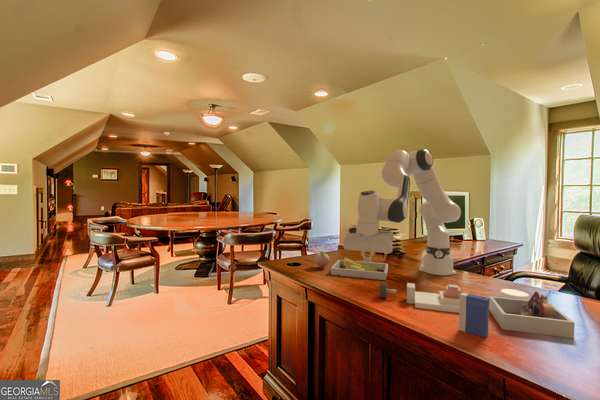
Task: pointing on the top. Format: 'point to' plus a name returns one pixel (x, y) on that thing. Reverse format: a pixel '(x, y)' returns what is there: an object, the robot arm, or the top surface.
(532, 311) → the brake caliper
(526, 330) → the tray
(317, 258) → the decorative fruit
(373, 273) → the sorting frame
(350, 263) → the plastic component
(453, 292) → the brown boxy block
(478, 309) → the walkman
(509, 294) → the coaster
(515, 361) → the top surface
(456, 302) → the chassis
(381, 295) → the wheel
